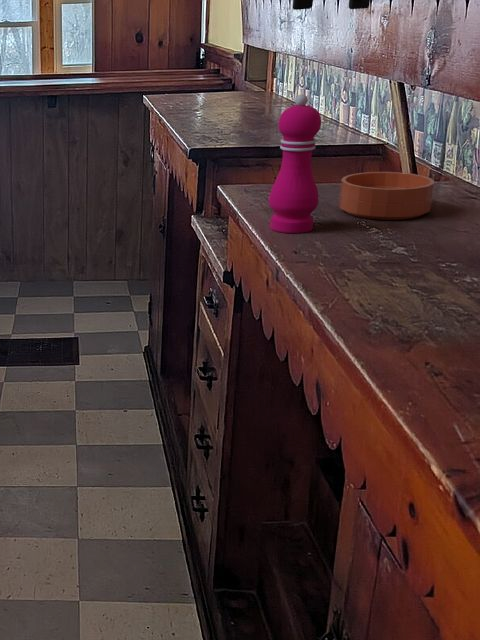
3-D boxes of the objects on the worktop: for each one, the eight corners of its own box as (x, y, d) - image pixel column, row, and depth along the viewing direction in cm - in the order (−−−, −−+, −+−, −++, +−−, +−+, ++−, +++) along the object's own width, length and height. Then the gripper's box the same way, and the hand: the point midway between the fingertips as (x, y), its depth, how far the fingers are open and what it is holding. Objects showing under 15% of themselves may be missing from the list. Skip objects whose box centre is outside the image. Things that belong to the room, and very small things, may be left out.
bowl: (444, 208, 140) (449, 177, 138) (406, 225, 131) (410, 193, 129) (363, 197, 149) (366, 168, 147) (323, 213, 141) (326, 182, 139)
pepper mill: (296, 220, 138) (307, 90, 130) (326, 230, 131) (339, 94, 123) (257, 226, 136) (266, 94, 128) (285, 236, 129) (296, 98, 121)
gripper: (422, -146, 104) (403, 6, 111) (312, -127, 118) (301, 8, 125) (379, -147, 101) (362, 10, 108) (271, -127, 115) (262, 11, 122)
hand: (329, 8), depth 117 cm, fingers open, 9 cm apart
